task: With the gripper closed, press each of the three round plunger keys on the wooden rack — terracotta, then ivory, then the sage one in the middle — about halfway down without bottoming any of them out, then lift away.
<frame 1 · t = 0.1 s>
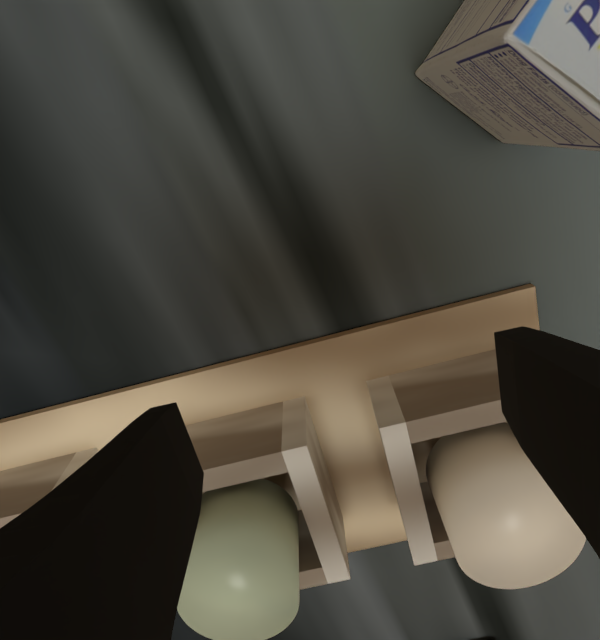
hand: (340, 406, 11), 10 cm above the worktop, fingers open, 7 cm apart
wooden rack: (252, 471, 24), on the worktop
sage key: (242, 555, 20), point 5 cm above the worktop, slide at 0.0 cm
medicine box: (528, 7, 17), on the worktop
ivory key: (497, 499, 19), point 5 cm above the worktop, slide at 0.0 cm
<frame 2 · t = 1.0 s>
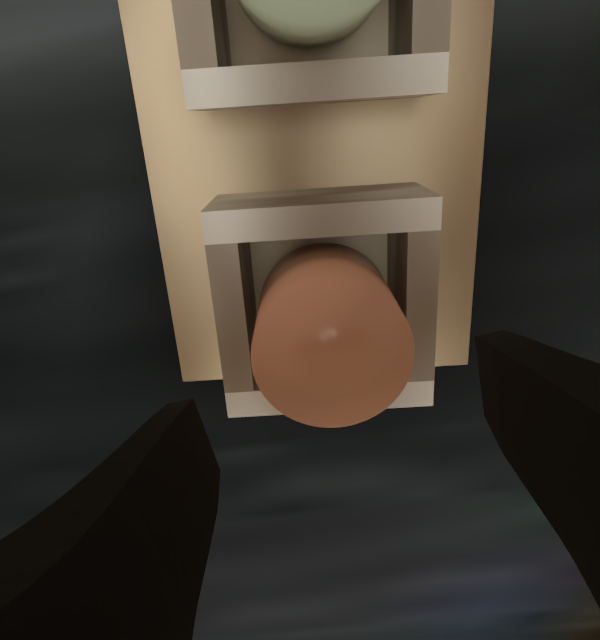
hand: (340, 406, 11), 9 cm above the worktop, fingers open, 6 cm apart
terracotta key: (328, 329, 15), point 5 cm above the worktop, slide at 0.0 cm
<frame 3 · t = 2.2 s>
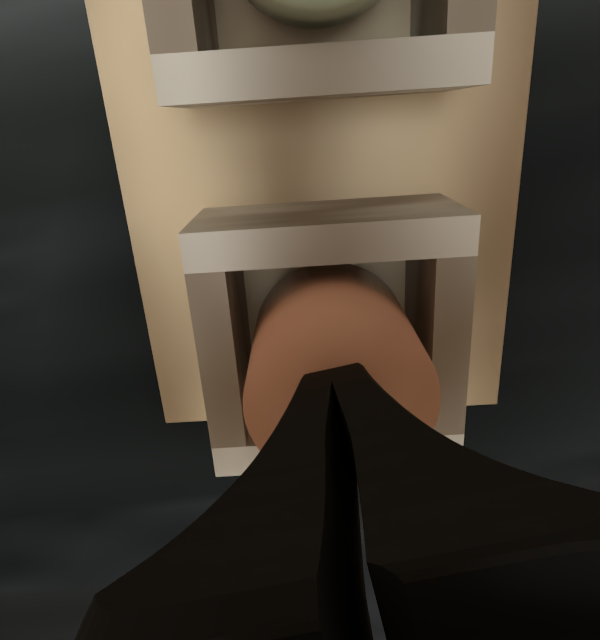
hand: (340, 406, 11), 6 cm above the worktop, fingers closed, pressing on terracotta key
terracotta key: (334, 364, 13), point 4 cm above the worktop, slide at 0.7 cm, touching gripper
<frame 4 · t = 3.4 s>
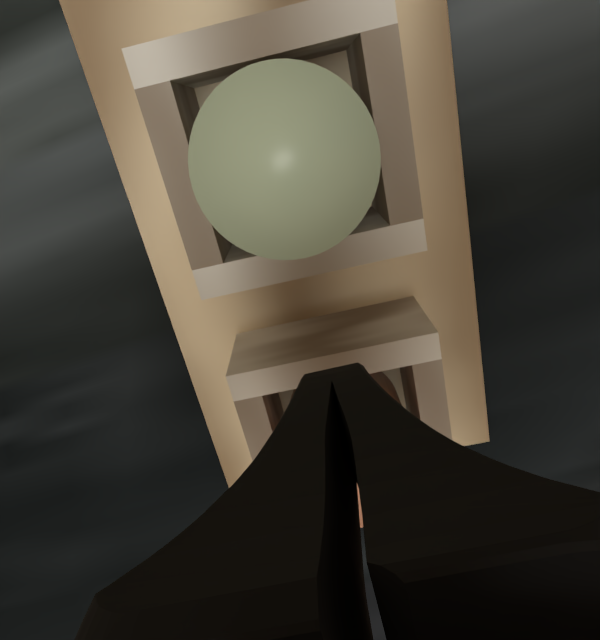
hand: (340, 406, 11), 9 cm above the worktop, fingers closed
wooden rack: (287, 149, 18), on the worktop
sage key: (285, 159, 13), point 5 cm above the worktop, slide at 0.0 cm
terracotta key: (349, 439, 18), point 4 cm above the worktop, slide at 1.2 cm
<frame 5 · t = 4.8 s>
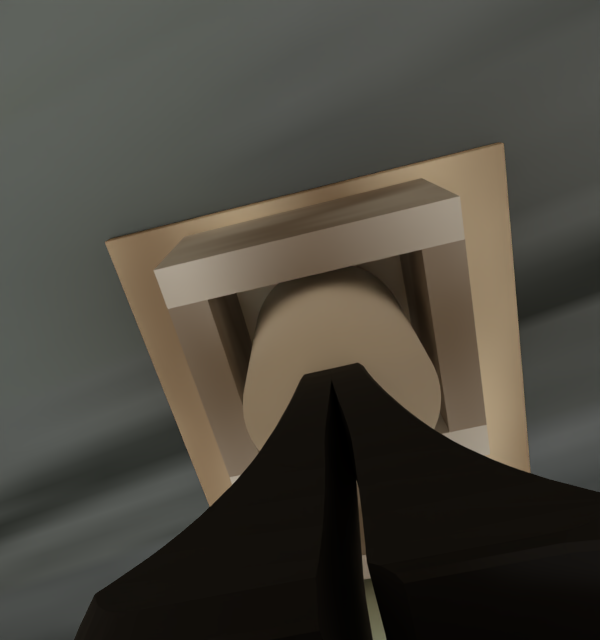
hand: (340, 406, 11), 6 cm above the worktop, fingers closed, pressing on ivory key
wooden rack: (379, 536, 20), on the worktop
ivory key: (335, 365, 13), point 4 cm above the worktop, slide at 1.2 cm, touching gripper
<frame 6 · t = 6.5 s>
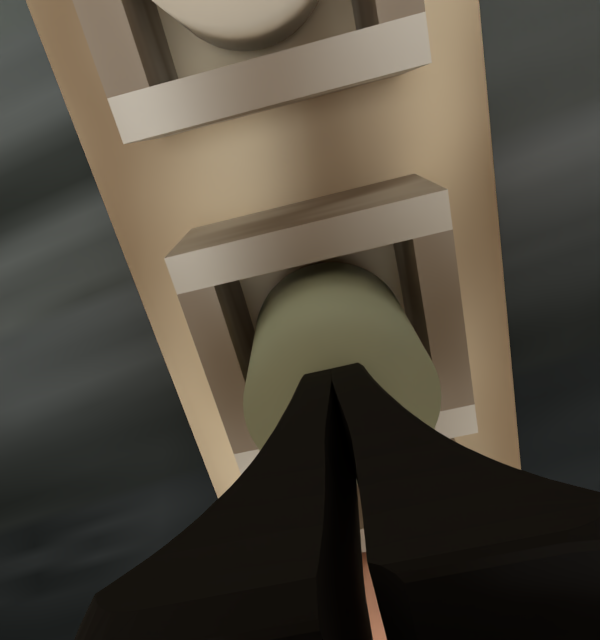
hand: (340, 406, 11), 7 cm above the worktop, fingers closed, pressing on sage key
wooden rack: (325, 301, 17), on the worktop
sage key: (335, 365, 13), point 5 cm above the worktop, slide at 0.2 cm, touching gripper
terracotta key: (392, 597, 18), point 4 cm above the worktop, slide at 1.2 cm
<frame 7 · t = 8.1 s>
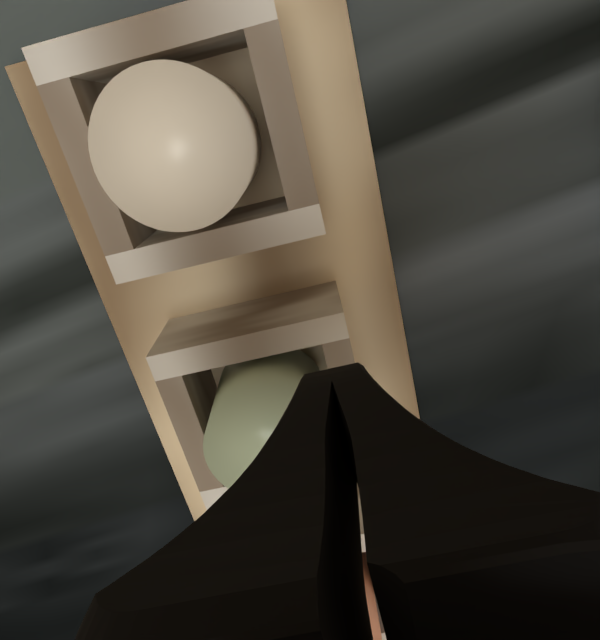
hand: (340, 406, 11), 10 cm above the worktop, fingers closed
wooden rack: (273, 370, 22), on the worktop
sage key: (269, 416, 19), point 4 cm above the worktop, slide at 1.2 cm
terracotta key: (326, 598, 23), point 4 cm above the worktop, slide at 1.2 cm
ivory key: (185, 147, 15), point 4 cm above the worktop, slide at 1.2 cm
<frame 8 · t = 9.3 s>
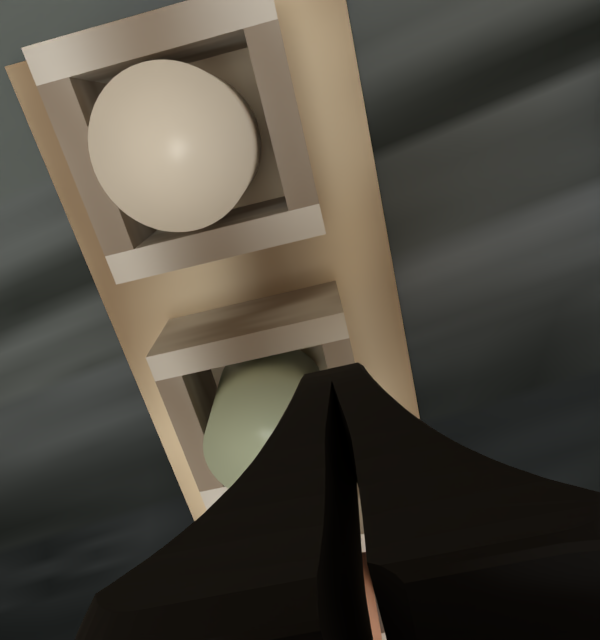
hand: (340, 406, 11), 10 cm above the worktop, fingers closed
wooden rack: (273, 370, 22), on the worktop
sage key: (269, 416, 19), point 4 cm above the worktop, slide at 1.2 cm
terracotta key: (326, 598, 23), point 4 cm above the worktop, slide at 1.2 cm
ivory key: (185, 147, 15), point 4 cm above the worktop, slide at 1.2 cm
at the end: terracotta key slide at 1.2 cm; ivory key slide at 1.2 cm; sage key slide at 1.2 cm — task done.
